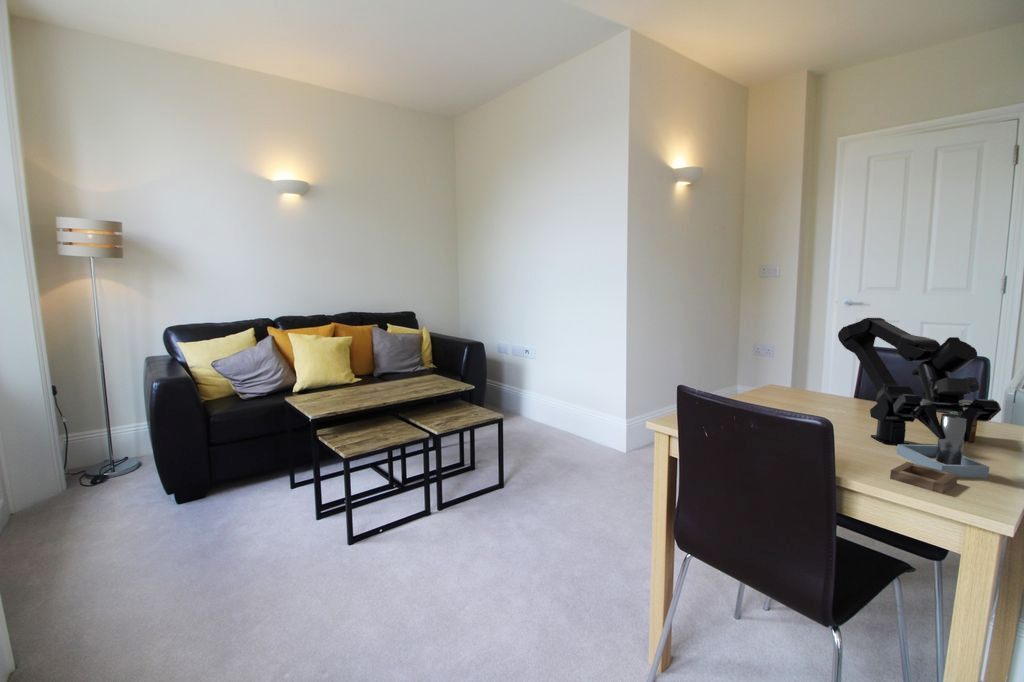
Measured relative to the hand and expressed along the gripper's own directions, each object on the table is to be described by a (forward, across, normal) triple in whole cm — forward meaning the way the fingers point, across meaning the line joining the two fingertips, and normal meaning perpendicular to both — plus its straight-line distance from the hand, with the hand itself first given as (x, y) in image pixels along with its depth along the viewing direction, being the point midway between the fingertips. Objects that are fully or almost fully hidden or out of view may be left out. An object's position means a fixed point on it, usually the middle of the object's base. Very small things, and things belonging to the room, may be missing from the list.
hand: (954, 439), depth 111 cm
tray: (+3, 0, +9) cm, 10 cm away
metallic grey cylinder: (+3, 0, +5) cm, 6 cm away
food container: (-18, +16, +31) cm, 39 cm away
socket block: (+12, -8, 0) cm, 15 cm away
